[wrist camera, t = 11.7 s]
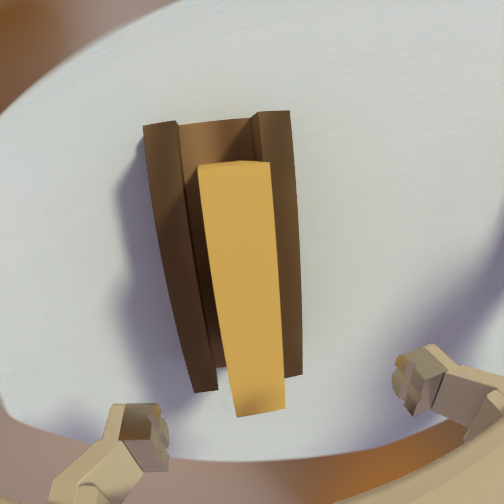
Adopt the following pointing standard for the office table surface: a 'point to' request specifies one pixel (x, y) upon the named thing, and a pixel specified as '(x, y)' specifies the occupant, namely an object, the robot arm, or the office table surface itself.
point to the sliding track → (194, 238)
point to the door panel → (245, 280)
